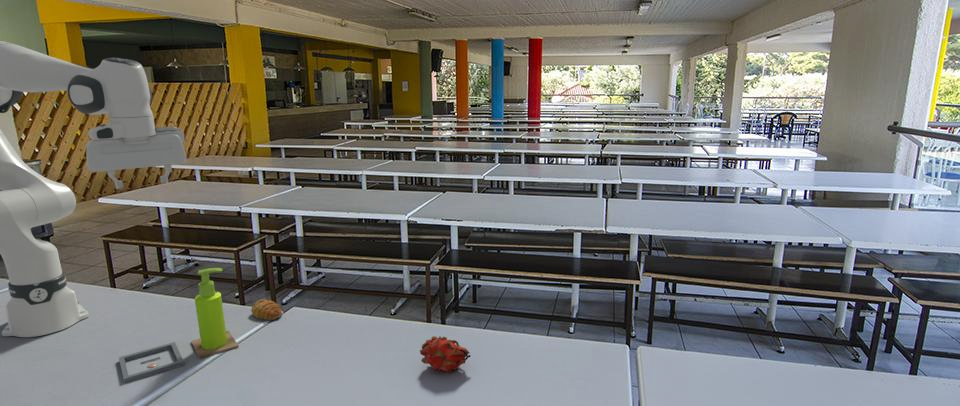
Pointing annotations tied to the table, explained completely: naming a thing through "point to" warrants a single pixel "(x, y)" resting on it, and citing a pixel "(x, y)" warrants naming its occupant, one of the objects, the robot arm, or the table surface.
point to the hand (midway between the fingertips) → (142, 185)
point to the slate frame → (147, 352)
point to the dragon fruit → (443, 354)
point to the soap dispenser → (210, 312)
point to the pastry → (266, 310)
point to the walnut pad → (207, 352)
